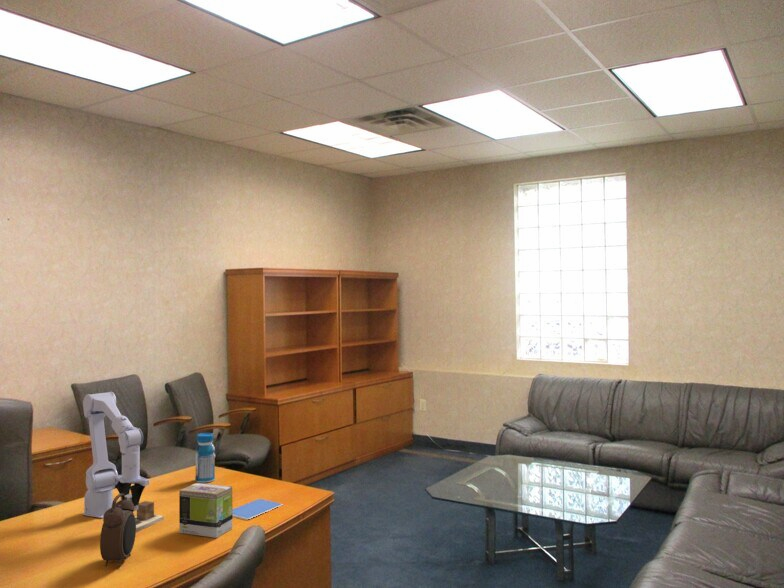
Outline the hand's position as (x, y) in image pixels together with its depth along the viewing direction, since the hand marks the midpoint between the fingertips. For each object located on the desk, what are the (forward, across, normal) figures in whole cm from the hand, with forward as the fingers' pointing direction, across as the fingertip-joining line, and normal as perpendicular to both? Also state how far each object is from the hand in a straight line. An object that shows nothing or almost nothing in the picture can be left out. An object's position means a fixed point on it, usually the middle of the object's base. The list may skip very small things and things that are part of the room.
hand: (130, 504), depth 215 cm
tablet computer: (+9, +29, +32) cm, 44 cm away
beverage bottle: (+8, -12, +54) cm, 56 cm away
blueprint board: (+8, 0, +4) cm, 9 cm away
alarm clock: (+8, +18, -22) cm, 30 cm away
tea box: (+8, +26, +8) cm, 28 cm away
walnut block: (+7, 0, +7) cm, 10 cm away
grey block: (+2, 0, 0) cm, 2 cm away
